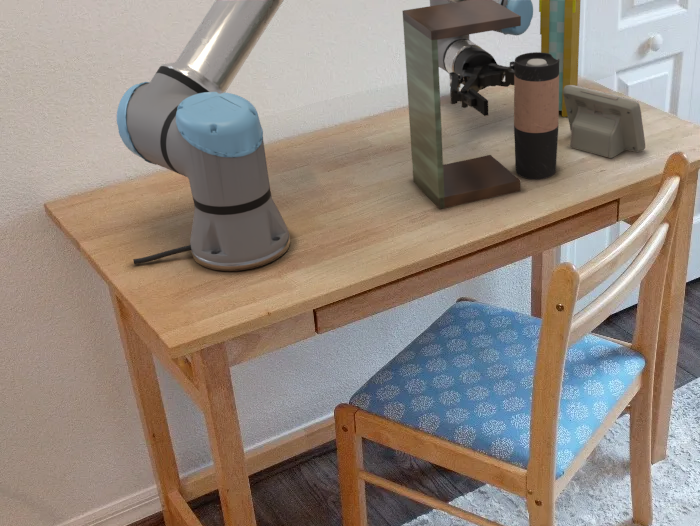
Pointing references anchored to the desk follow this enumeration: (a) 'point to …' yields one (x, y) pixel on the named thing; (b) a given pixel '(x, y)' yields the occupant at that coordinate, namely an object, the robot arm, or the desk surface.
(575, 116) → the digital clock
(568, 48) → the book
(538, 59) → the travel mug
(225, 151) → the robot arm
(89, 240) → the desk surface
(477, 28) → the shelf
